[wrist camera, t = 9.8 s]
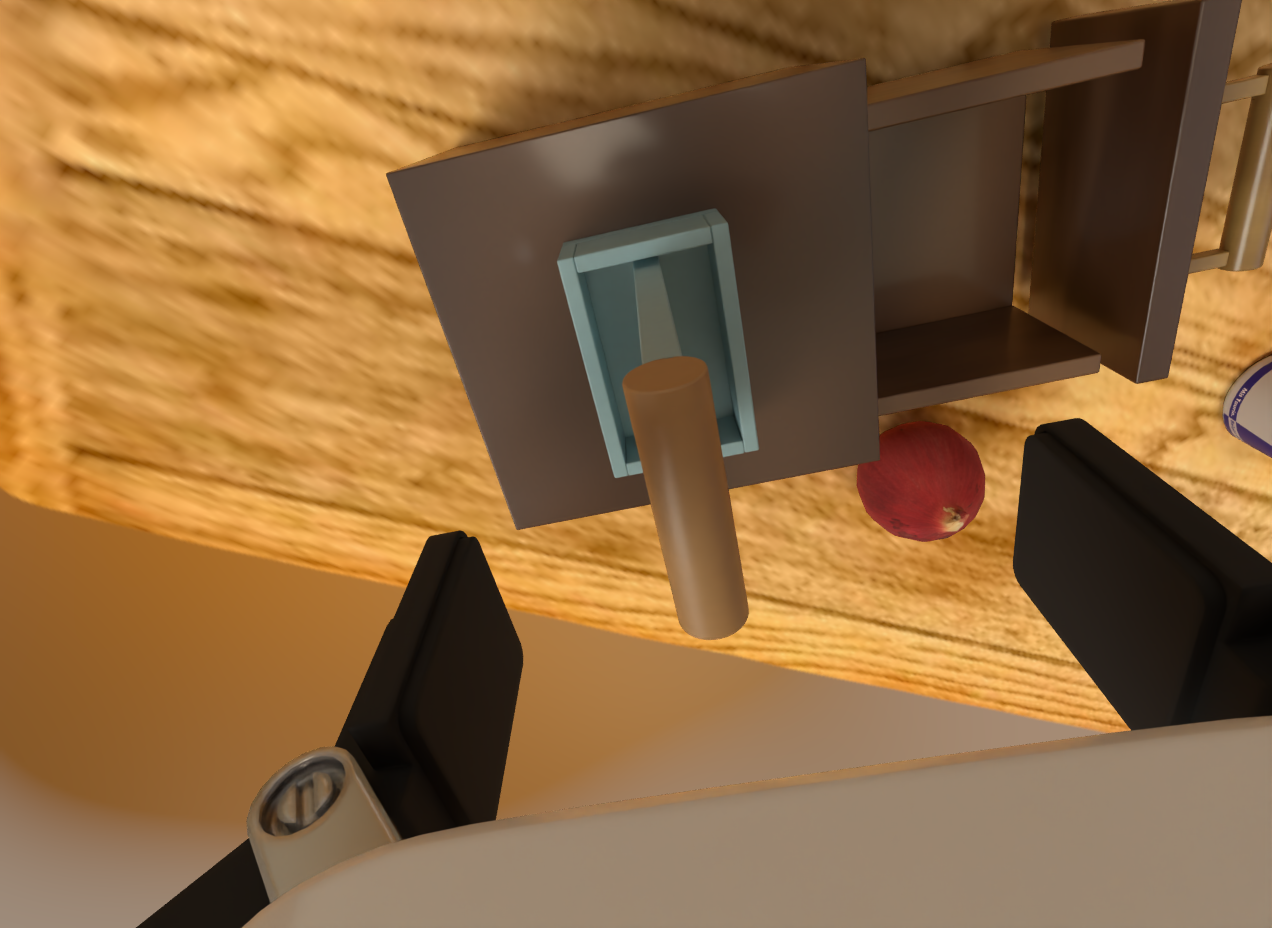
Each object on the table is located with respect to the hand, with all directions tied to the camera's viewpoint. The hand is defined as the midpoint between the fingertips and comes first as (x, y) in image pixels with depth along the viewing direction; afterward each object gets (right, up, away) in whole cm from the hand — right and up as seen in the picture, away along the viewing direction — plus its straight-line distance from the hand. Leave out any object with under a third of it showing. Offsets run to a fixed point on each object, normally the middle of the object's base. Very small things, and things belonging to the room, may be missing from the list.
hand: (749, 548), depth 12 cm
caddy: (-1, +6, +12) cm, 13 cm away
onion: (+12, +3, +25) cm, 28 cm away
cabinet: (-1, +11, +20) cm, 23 cm away
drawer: (+13, +13, +18) cm, 25 cm away
